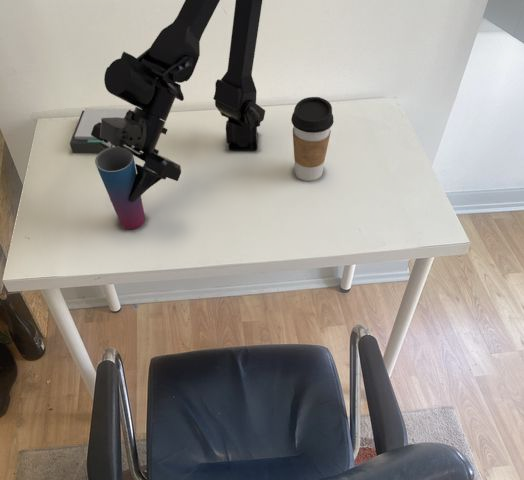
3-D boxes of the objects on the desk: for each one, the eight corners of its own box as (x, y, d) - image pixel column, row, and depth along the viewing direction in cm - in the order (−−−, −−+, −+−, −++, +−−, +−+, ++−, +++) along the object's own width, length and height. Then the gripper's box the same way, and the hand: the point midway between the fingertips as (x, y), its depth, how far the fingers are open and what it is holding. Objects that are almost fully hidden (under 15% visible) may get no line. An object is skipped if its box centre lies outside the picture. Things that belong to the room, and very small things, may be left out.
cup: (152, 209, 111) (137, 147, 98) (145, 233, 107) (128, 172, 94) (120, 207, 111) (100, 145, 98) (112, 231, 107) (90, 170, 95)
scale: (139, 120, 129) (136, 107, 127) (129, 153, 122) (126, 141, 119) (85, 119, 130) (81, 107, 127) (72, 152, 122) (68, 140, 120)
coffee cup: (332, 164, 119) (339, 100, 107) (321, 188, 114) (328, 123, 102) (295, 157, 121) (298, 92, 108) (284, 180, 116) (286, 115, 104)
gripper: (83, 79, 94) (53, 164, 98) (158, 118, 87) (122, 208, 92) (127, 101, 104) (98, 178, 108) (197, 138, 97) (163, 218, 101)
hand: (119, 194), depth 102 cm, fingers closed on cup, 6 cm apart
